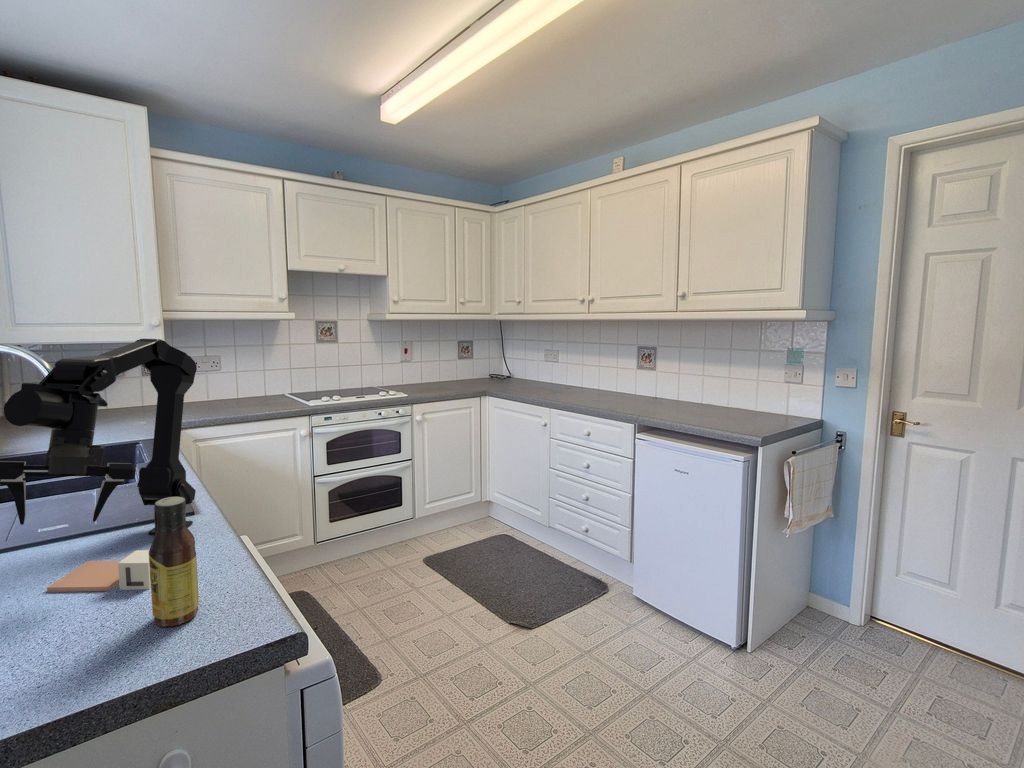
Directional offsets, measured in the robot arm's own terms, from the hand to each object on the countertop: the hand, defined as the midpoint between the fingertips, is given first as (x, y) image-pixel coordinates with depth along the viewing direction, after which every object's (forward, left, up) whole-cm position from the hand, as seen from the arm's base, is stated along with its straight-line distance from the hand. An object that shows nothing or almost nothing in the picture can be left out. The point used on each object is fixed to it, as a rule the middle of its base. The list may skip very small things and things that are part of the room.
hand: (59, 522), depth 88 cm
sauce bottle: (+8, +22, -13) cm, 27 cm away
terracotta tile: (-6, +1, -13) cm, 14 cm away
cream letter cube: (-4, +10, -13) cm, 17 cm away
